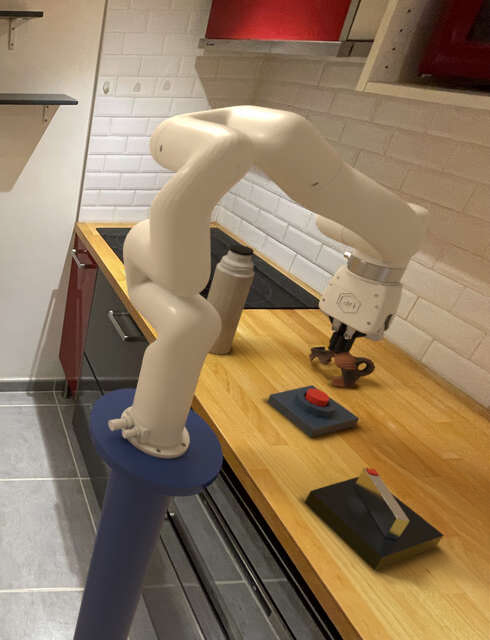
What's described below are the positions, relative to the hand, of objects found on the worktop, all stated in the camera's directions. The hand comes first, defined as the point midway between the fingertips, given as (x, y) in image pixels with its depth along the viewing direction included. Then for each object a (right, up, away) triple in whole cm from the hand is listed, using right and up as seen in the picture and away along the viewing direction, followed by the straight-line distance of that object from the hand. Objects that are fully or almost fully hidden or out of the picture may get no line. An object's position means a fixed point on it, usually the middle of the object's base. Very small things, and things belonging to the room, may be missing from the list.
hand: (337, 350), depth 88 cm
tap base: (-8, -25, -15) cm, 30 cm away
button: (0, -12, +5) cm, 13 cm away
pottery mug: (+15, -11, +18) cm, 26 cm away
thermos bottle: (-9, -6, +28) cm, 30 cm away
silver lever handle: (-8, -22, -16) cm, 29 cm away
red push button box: (0, -15, +7) cm, 17 cm away
